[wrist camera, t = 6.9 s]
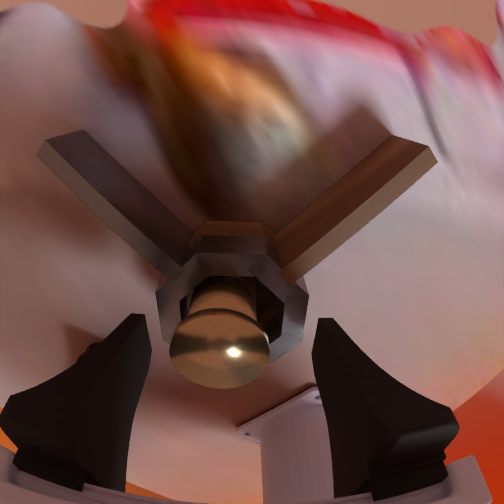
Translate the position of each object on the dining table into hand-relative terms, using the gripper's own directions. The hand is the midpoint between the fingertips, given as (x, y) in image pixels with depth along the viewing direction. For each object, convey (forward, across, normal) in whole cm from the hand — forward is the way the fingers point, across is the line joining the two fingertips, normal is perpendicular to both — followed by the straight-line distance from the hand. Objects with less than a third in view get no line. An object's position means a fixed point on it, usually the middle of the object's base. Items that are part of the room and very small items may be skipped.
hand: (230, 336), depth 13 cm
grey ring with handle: (+5, +3, -3) cm, 6 cm away
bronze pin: (+5, 0, 0) cm, 5 cm away
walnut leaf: (+5, -3, -3) cm, 6 cm away
